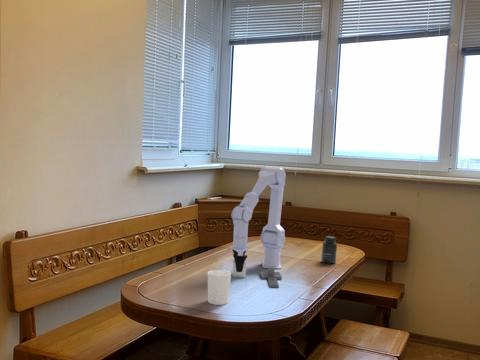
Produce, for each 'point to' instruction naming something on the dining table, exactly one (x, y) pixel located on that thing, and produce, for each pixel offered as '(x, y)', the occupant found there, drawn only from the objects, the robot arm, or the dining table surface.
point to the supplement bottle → (329, 250)
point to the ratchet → (271, 276)
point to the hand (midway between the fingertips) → (238, 269)
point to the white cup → (218, 286)
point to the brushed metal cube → (238, 274)
